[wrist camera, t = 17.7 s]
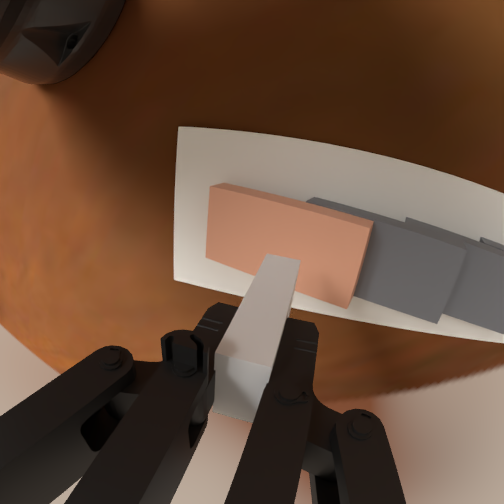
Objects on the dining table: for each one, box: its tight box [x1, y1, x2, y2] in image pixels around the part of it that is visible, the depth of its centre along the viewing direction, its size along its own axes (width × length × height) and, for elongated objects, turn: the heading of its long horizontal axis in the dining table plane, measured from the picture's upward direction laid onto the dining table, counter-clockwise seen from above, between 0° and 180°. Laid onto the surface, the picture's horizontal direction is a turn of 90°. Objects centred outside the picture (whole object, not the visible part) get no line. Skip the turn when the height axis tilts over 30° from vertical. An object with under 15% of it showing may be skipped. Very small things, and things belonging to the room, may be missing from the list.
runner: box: [174, 127, 504, 343], centre depth 19 cm, size 30×12×1 cm, turn 84°
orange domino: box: [205, 183, 374, 309], centre depth 19 cm, size 2×5×10 cm
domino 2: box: [405, 217, 504, 334], centre depth 16 cm, size 2×5×10 cm
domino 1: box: [306, 197, 467, 324], centre depth 17 cm, size 2×5×10 cm
